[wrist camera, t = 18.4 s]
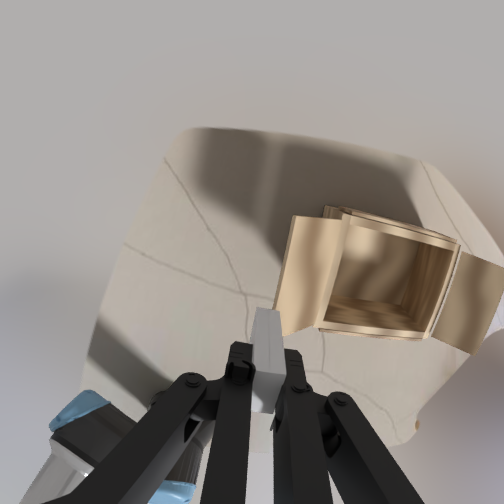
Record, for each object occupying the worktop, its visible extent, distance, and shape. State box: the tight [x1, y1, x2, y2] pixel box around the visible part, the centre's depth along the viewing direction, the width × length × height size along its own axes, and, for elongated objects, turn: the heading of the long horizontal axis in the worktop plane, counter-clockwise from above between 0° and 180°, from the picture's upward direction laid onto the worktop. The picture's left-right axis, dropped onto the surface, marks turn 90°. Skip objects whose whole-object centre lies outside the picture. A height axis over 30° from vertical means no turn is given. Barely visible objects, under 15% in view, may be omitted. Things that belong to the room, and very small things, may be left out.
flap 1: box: [272, 215, 342, 337], centre depth 28 cm, size 8×13×1 cm
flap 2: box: [431, 252, 504, 356], centre depth 28 cm, size 8×13×1 cm
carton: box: [313, 205, 461, 341], centre depth 36 cm, size 18×15×10 cm
